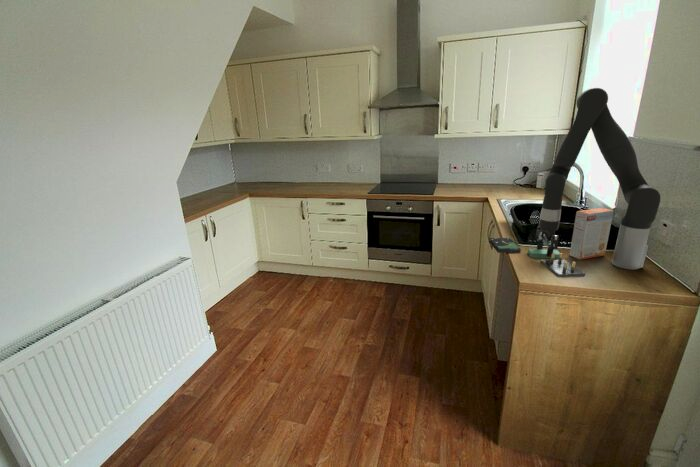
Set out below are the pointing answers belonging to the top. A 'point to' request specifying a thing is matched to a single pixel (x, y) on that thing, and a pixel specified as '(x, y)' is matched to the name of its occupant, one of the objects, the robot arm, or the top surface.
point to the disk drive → (504, 245)
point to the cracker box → (591, 233)
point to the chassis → (562, 267)
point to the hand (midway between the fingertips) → (544, 252)
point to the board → (541, 253)
